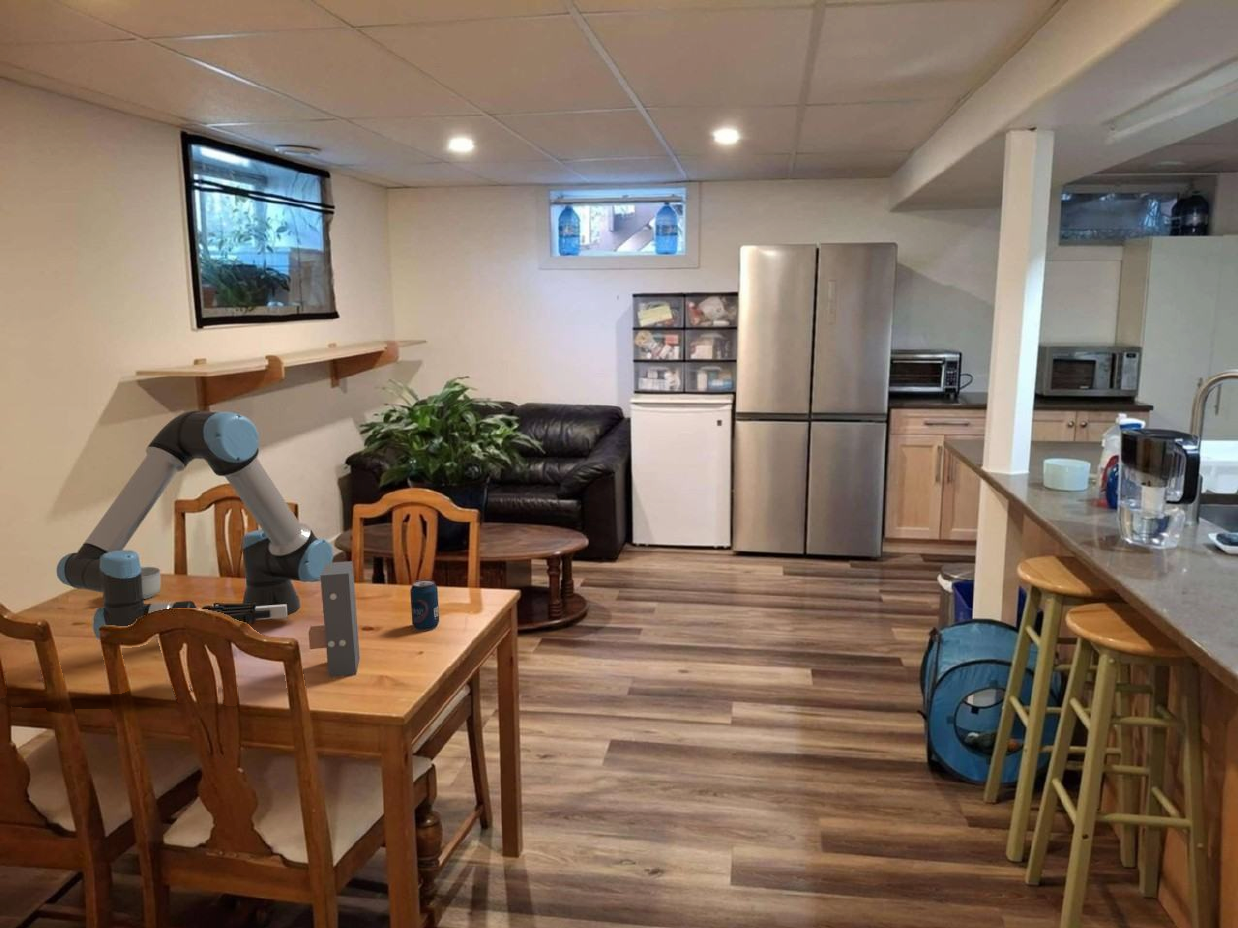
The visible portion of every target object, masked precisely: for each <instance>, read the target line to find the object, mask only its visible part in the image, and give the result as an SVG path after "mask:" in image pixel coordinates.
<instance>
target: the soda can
mask: <svg viewBox="0 0 1238 928" xmlns="http://www.w3.org/2000/svg"><path fill="white" fill-rule="evenodd" d="M409 592H410V607H411V611H410V612H411V622H412V623H411V624H412V625H413V627H414V628H415V630H417V631H422V632H423V631H425V630H426V631H431V630H434V629H436V628H437V627H438V625H439V623H440V609H439V608H440V607H439V594H438V593H439V592H438V587H437V584H436V582H435V580H433V579H418V580H415V581H413V582H412V586H411V588H410V591H409Z"/></svg>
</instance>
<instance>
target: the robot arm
mask: <svg viewBox="0 0 1238 928" xmlns="http://www.w3.org/2000/svg"><path fill="white" fill-rule="evenodd" d="M258 439H259V432H258V429H257V427H256V425H255V424H254V422H252V421H251V420H250V419H249V418H248V417H246V416H244V415H243V414H239V413H235V412H232V411H205V410H204V411H203V410H191V411H186V412H183V413H181V414H179V415H177V416H175V417H174V418H173V419H171V420H170V421H169V422H168V423H167V424H166V425H164V426H163V427H162V428H161V430H159V432H158V433H157V434H156V435H155V436H154V438H153V439H152V440H151V441H150V443H149V444H148V445H147V447H146V448H145V452H146V456H145V458H144V459H143V460H142V462H141V463H140V464H139V466H138V467H137V469H136V470H135V472H134V473H133V474H132V475H131V477H130V478H129V480H128V481H127V483H126V484H125V486H124V487H123V488H122V490H121V491H120V492H119V494H118V495H117V496H116V498H115V500H113V502H112V504H111V505H110V506H109V508H108V509H107V510H106V512H105V513H104V514H103V516H102V517H101V519H100V520H99V522H98V523H97V524H96V526H95V527H94V528H93V530H92V531H91V533H90V534H89V535H88V537H87V538H86V540H84V543H82V545H81V547H80V548H79V549H78V551H76V552H71V553H67V554H66V555H64V556H63V557H61V559H59V561H58V563H57V565H56V570H55V571H56V576H57V578H58V579H59V581H60V582H61V583H62V584H64V585H67V586H68V587H69V586H70V587H71V588H73V589H74V588H75V589H78V590H79V589H81V590H87V591H91V592H92V591H93V592H97V593H101V594H102V596H103V604H104V606H101V607H98V608H97V609H96V611H95V612H94V614H93V624H92V629H93V634H94V636H95V637H96V638H97V639H98V640H99V641H101V640H100V635H99V628H100V627H101V626H104V625H116V626H128V625H131V624H133V623H134V622H135V621H136V619H138V618H139V617H141V616H144V615H147V614H148V613H151V612H154V611H158V610H163V609H169V608H197V606H196V604H195V602H194V601H193V600H184V601H175V602H172V601H166V602H156V603H155V602H153V603H145V602H144V600H143V591H142V577H141V567H142V566H141V563H140V558H139V554H138V552H137V551H134V550H131V549H127V550H124V549H125V547H126V546H127V544H128V543H129V541H130V540H131V539H132V537H133V536H134V534H135V533H136V532H137V530H138V528H139V527H140V526H141V524H142V523H143V522H144V521H145V519H146V517H147V515H148V514H149V513H150V512H151V510H152V508H153V507H154V505H155V504H156V503H157V501H158V500H159V498H160V497H161V496H162V494H163V493H164V492H165V490H166V488H167V487H168V485H169V484H170V482H172V479H173V478H174V477H175V475H176V474H177V473H178V472H183V471H184V470H185V469H186V467H187V466H188V464H190V463H191V462H193V461H194V460H196V459H198V460H205V462H206V463H207V465H208V466H209V468H210V469H211V470H212V472H213V473H214V474H215V476H218V477H225V478H226V480H227V482H228V483H229V485H230V486H231V487H232V489H233V490H234V492H235V493H236V494H237V496H238V497H239V498H240V501H241V502H242V503H243V505H244V506H245V507H246V509H247V510H248V512H249V513H250V515H251V516H252V517H253V520H255V522H256V524H258V527H260V528H261V529H255V530H253V531H250V532H247V533H245V534H244V535H243V537H242V539H241V540H242V547H241V550H242V557H243V564H244V565H243V566H244V567H243V568H244V574H245V585H246V587H245V590H244V594H243V598H242V599H243V600H242V603H223V602H214V603H213V605H204V606H202V607H201V608H202V609H208V610H212V611H217V612H221V613H224V614H227V615H229V616H231V617H232V618H234V619H237V620H239V621H243V622H246V623H247V624H246V625H249V624H251V625H255V624H256V621H260V620H273V619H274V620H275V619H286V618H287V617H288V615H291V614H293V613H295V612H296V611H298V610H300V607H301V602H300V597H299V595H298V594H297V591H296V589H295V586H294V584H293V581H299V582H303V583H317V582H319V581H321V573H322V571H323V569H324V566H325V564H326V563H333V560H334V550H333V549H334V548H333V546H332V544H331V543H330V542H329V541H328V540H325V538H317V536H316V535H315V534H314V532H313V530H312V528H311V527H310V526H309V525H308V524H306V523H300V521H299V520H298V518H297V517H296V515H295V514H294V512H293V510H292V509H291V508H290V506H289V504H288V502H286V500H285V498H284V497H283V495H282V494H281V492H280V491H279V489H278V488H277V486H276V484H275V483H274V482H273V480H272V478H271V477H270V475H268V473H267V471H266V470H265V468H264V467H263V465H262V464H261V462H260V461H259V455H260V449H259V444H260V442H259V441H258ZM292 580H293V581H292ZM154 638H155V639H156V638H159V637H158V636H155V637H153V638H152V639H154Z"/></svg>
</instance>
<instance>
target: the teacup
mask: <svg viewBox="0 0 1238 928" xmlns="http://www.w3.org/2000/svg"><path fill="white" fill-rule="evenodd" d="M161 572H162V571H161V569H160V568H159V567H154V566H141V577H142V591H143V599H145V600H148V598H149V599H151V597H152V598H154V596H156V594H158V593H159V592H160V591H161V581H162V579H161Z"/></svg>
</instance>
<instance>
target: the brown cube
mask: <svg viewBox="0 0 1238 928" xmlns="http://www.w3.org/2000/svg"><path fill="white" fill-rule="evenodd" d="M307 634H308V645H309V650H315V649H317V650H318V649H326V638H325V625H324V624H322V625H311V626H310V627H309V630H308V633H307Z"/></svg>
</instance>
